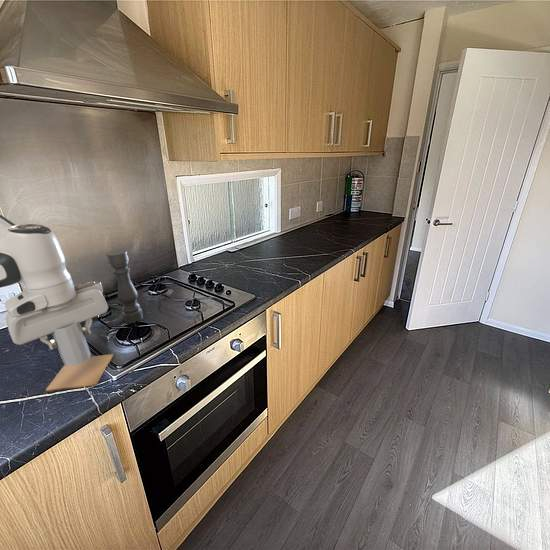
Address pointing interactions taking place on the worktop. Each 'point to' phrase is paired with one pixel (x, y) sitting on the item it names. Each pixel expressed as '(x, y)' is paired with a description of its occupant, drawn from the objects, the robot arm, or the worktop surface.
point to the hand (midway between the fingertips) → (70, 340)
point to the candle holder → (125, 286)
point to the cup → (72, 344)
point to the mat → (81, 373)
